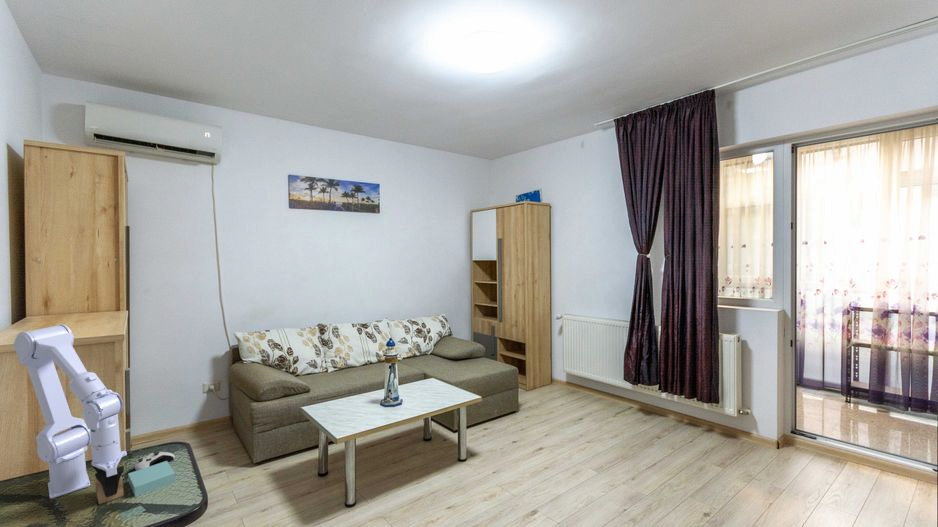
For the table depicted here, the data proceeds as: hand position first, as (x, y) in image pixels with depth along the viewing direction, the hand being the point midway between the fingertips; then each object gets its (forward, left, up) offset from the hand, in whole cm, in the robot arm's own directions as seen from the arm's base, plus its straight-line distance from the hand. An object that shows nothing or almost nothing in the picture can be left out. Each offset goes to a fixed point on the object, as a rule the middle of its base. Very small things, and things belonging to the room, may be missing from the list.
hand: (109, 490), depth 114 cm
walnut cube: (0, 0, -1) cm, 1 cm away
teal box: (+1, +9, -2) cm, 9 cm away
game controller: (-9, +11, -2) cm, 14 cm away
